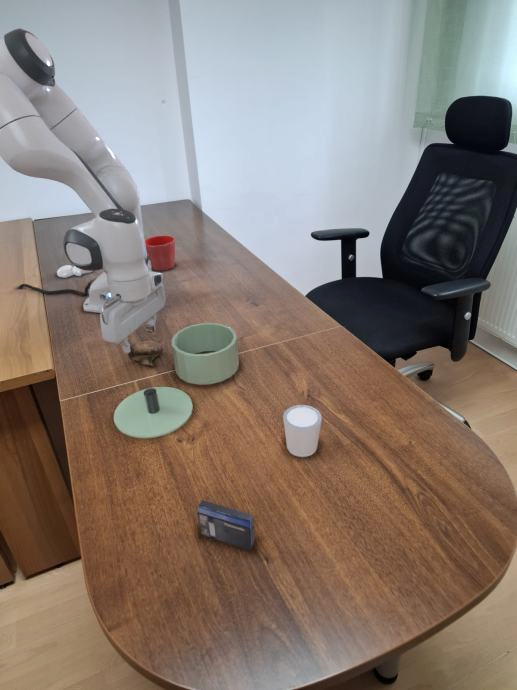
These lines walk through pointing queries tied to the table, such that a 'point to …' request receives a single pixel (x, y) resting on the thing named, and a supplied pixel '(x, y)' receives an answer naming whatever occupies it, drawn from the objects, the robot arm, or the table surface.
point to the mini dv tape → (226, 524)
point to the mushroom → (145, 352)
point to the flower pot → (161, 252)
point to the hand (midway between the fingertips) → (140, 341)
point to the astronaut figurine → (70, 271)
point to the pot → (205, 365)
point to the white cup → (302, 429)
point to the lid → (153, 412)
